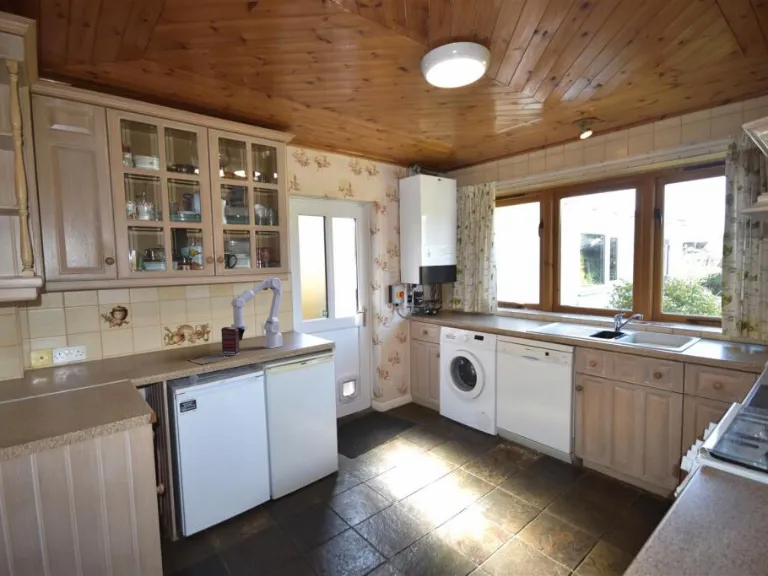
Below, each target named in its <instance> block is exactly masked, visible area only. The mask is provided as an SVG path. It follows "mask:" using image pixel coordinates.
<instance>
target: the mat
mask: <svg viewBox="0 0 768 576" xmlns="http://www.w3.org/2000/svg"><path fill="white" fill-rule="evenodd" d="M224 356H225V355H223V354H222V353H215V354H210V355H206V356H201V357H202V359H203V360H205V361H208V362H213V363H215V362H214V361H217V362H219V361H218V360H219V359H220V360H221V361H223V360H222V358H223V359H226V360H229V359H228V358H226V357H225V358H224ZM232 357H233V356H230V357H229V358H230V359H233V358H232Z"/></svg>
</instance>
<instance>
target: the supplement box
mask: <svg viewBox="0 0 768 576" xmlns="http://www.w3.org/2000/svg"><path fill="white" fill-rule="evenodd" d="M220 330H221V347H222V349H221V350H222V351H221V352H222V353H221V354H222V355H226V356H237V354H238V355H240V350H241V349H240V341H239V327H231V326H224V327H222V328H221V329H220Z"/></svg>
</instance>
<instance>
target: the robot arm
mask: <svg viewBox="0 0 768 576" xmlns="http://www.w3.org/2000/svg"><path fill="white" fill-rule="evenodd" d="M282 284H283V283H282V281H281V279H280V278H278V277H267V278H265V279H263V280H262V281H261V282H259V283H258V284H257V285H255V286H254V287H253V288H252V289H246V290H244V291H243V293H241V294H239V295H237V297H234V298H233V299H232V300H231V302H230V304H231V307H232V312H233V314H232V315H233V324H232V323H231V324H230V327H239V342H240V341H243V337H244V333H245V331H246V330H248V325H246V324H245V318H244V317H245V315H244V306H245V305H246V304H247V303H248V302H250V301H251V300H252V299H254V297H255V295H256V294H258V293H259V292H260V291H263V289H267V288H269V289H270V290H271V291H272V292H273V296H272V301H271V306H270V310H269V316H268V317H267V319H266V322H265V323H264V325H263V329H264V331H265V338H266V339H265V340H266V342H265V343H266V344H265V345H263V348H266V349H274V348H280V347H283V346H284V345H283V335H282V332H280V320H279V313H280V310H281V302H282V298H283V293H284V291H283V290H284V289H283V286H282Z"/></svg>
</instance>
